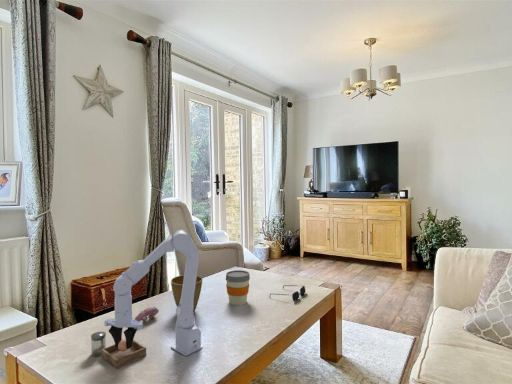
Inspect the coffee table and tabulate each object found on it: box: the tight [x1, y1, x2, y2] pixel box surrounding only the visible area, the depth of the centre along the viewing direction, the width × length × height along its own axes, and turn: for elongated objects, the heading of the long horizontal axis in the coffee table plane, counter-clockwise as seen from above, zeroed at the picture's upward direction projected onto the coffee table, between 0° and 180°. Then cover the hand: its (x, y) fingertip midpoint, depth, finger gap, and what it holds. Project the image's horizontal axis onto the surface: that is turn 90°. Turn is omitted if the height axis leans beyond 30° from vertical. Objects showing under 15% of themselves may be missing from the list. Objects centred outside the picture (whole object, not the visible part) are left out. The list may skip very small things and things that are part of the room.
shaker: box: [90, 331, 107, 358], centre depth 117 cm, size 5×5×7 cm
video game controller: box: [134, 306, 160, 323], centre depth 145 cm, size 10×5×7 cm, turn 143°
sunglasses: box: [268, 284, 306, 302], centre depth 176 cm, size 17×15×5 cm
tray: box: [101, 339, 147, 369], centre depth 115 cm, size 11×11×3 cm
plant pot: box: [170, 274, 203, 314], centre depth 154 cm, size 15×15×16 cm
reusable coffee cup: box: [225, 269, 251, 306], centre depth 166 cm, size 13×12×15 cm
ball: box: [118, 338, 128, 352], centre depth 115 cm, size 4×4×4 cm
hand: (124, 346), depth 115 cm, fingers closed on ball, 4 cm apart
